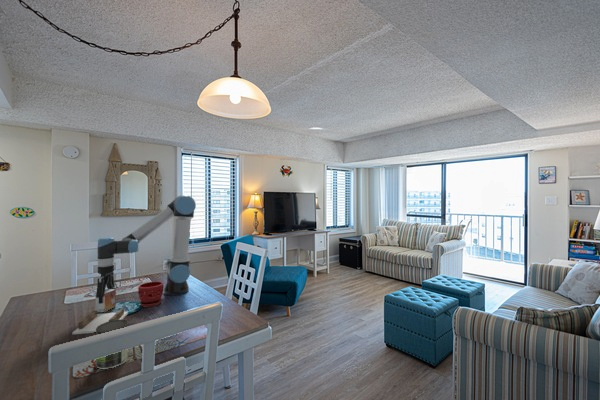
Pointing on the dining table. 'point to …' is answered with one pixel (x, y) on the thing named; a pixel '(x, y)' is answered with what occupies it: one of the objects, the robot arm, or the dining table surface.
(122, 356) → the coffee can
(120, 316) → the holder
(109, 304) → the small box
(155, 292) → the plant pot
